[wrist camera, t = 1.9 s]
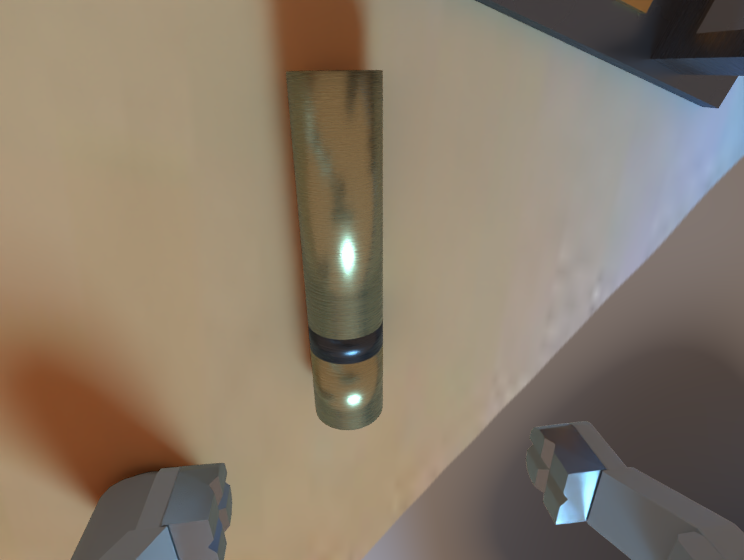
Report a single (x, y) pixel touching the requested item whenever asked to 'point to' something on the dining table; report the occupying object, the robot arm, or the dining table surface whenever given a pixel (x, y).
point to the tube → (341, 236)
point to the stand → (649, 38)
